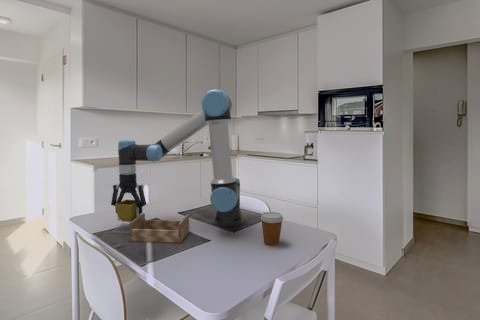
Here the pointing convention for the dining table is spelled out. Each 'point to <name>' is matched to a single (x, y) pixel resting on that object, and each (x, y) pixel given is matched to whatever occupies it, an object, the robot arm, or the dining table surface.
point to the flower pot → (127, 210)
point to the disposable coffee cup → (271, 227)
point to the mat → (122, 229)
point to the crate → (158, 230)
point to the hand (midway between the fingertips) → (129, 220)
